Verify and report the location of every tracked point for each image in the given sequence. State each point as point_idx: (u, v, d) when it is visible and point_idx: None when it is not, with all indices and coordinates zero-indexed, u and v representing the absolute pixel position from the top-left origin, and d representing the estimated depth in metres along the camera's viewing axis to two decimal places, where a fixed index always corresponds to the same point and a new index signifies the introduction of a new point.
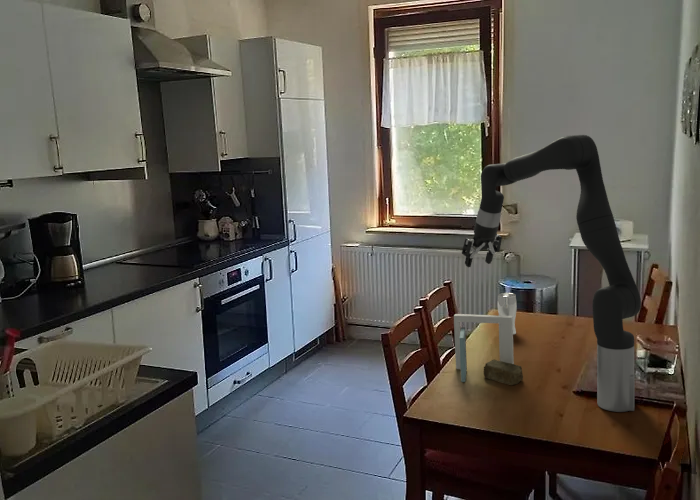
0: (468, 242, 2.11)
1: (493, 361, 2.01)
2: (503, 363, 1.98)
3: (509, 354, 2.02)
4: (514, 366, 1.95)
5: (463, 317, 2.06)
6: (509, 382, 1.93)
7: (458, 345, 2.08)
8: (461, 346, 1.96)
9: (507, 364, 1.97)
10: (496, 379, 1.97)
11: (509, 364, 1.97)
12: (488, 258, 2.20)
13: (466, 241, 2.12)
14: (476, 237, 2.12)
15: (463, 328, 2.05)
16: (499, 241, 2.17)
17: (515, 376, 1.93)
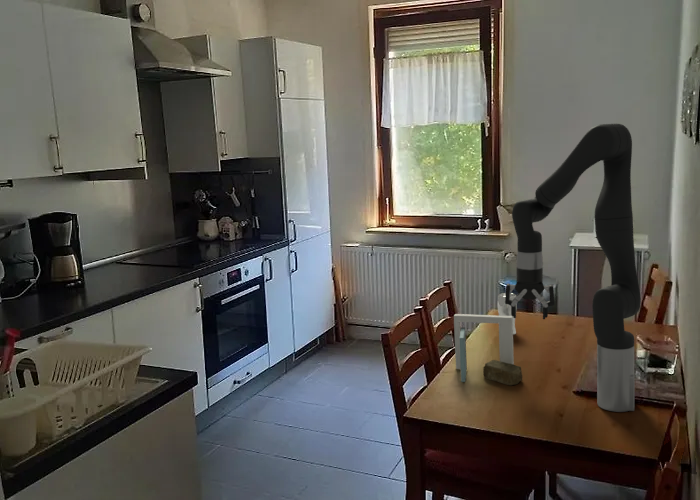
0: (506, 286, 1.94)
1: (493, 361, 2.01)
2: (503, 364, 1.98)
3: (509, 354, 2.02)
4: (513, 366, 1.95)
5: (463, 317, 2.06)
6: (508, 382, 1.93)
7: (458, 345, 2.08)
8: (461, 346, 1.96)
9: (507, 364, 1.97)
10: (495, 379, 1.97)
11: (509, 364, 1.97)
12: None
13: None
14: None
15: (463, 328, 2.05)
16: (550, 292, 1.90)
17: (514, 377, 1.93)
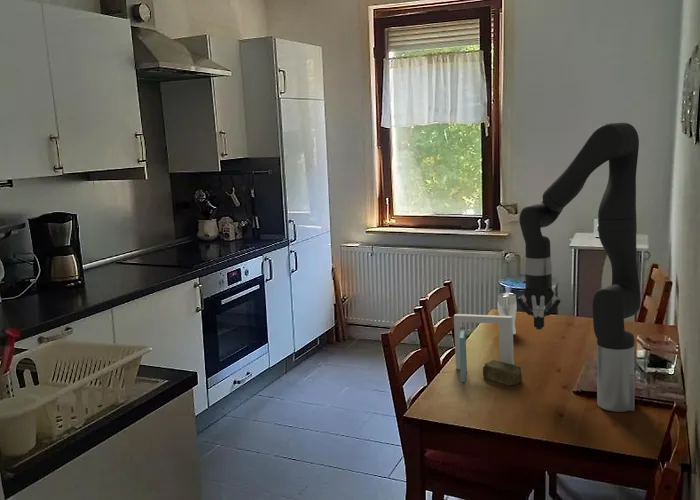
0: None
1: (493, 361, 2.01)
2: (503, 364, 1.98)
3: (509, 354, 2.02)
4: (513, 367, 1.95)
5: (463, 317, 2.06)
6: (507, 382, 1.93)
7: (458, 345, 2.08)
8: (461, 346, 1.96)
9: (506, 364, 1.97)
10: (495, 379, 1.97)
11: (508, 364, 1.97)
12: None
13: None
14: (525, 288, 1.90)
15: (463, 328, 2.05)
16: (555, 304, 1.87)
17: (514, 377, 1.93)
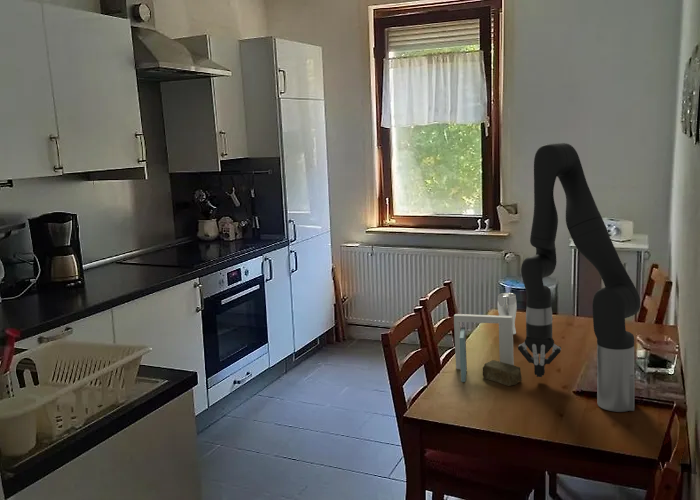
0: None
1: (492, 361, 2.01)
2: (502, 364, 1.98)
3: (509, 354, 2.02)
4: (513, 367, 1.95)
5: (463, 317, 2.06)
6: (507, 382, 1.93)
7: (458, 345, 2.08)
8: (461, 346, 1.96)
9: (506, 365, 1.97)
10: (494, 379, 1.97)
11: (508, 365, 1.97)
12: None
13: None
14: (526, 336, 1.93)
15: (463, 328, 2.05)
16: (555, 353, 1.90)
17: (513, 377, 1.92)
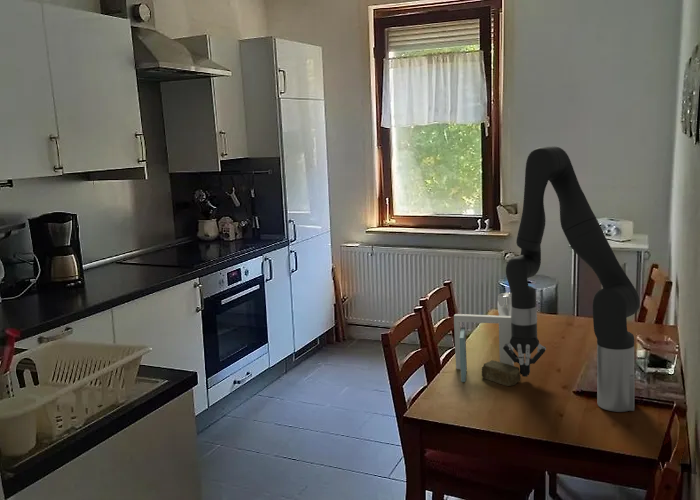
0: None
1: (492, 362, 2.01)
2: (501, 364, 1.98)
3: None
4: (512, 367, 1.95)
5: (463, 317, 2.06)
6: (505, 383, 1.93)
7: (458, 345, 2.08)
8: (461, 346, 1.96)
9: (505, 365, 1.97)
10: (493, 380, 1.96)
11: (507, 365, 1.97)
12: None
13: None
14: (511, 336, 1.95)
15: (463, 328, 2.05)
16: (540, 353, 1.92)
17: (512, 377, 1.92)
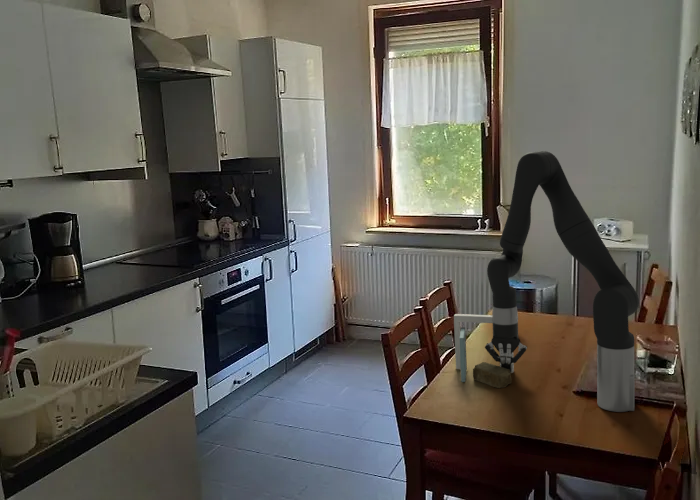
0: None
1: (483, 363, 2.00)
2: (492, 366, 1.97)
3: None
4: (502, 369, 1.94)
5: (463, 317, 2.06)
6: (496, 385, 1.92)
7: (458, 345, 2.08)
8: (461, 346, 1.96)
9: (496, 367, 1.96)
10: (484, 382, 1.95)
11: (498, 367, 1.96)
12: None
13: None
14: (493, 336, 1.97)
15: (463, 328, 2.05)
16: (521, 352, 1.94)
17: (502, 379, 1.91)
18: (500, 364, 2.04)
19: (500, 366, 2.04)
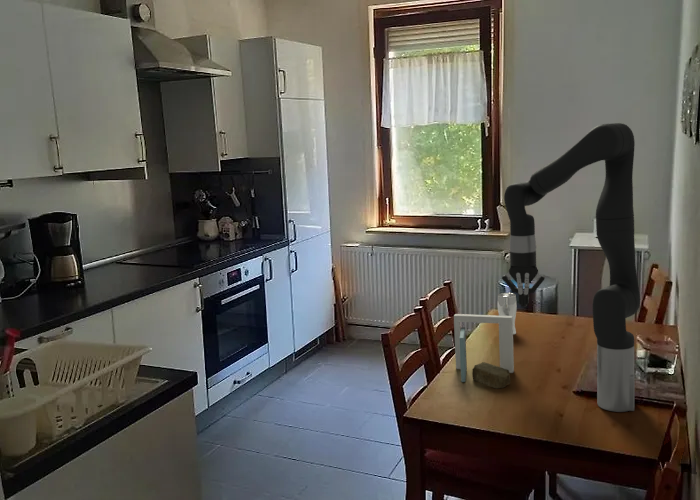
0: None
1: (482, 363, 2.00)
2: (492, 366, 1.96)
3: (509, 354, 2.02)
4: (501, 369, 1.93)
5: (463, 317, 2.06)
6: (494, 385, 1.91)
7: (458, 345, 2.08)
8: (461, 346, 1.96)
9: (495, 367, 1.95)
10: (483, 382, 1.95)
11: (497, 367, 1.95)
12: None
13: None
14: (510, 266, 1.93)
15: (463, 328, 2.05)
16: (539, 281, 1.90)
17: (501, 380, 1.91)
18: (500, 364, 2.04)
19: (500, 366, 2.04)
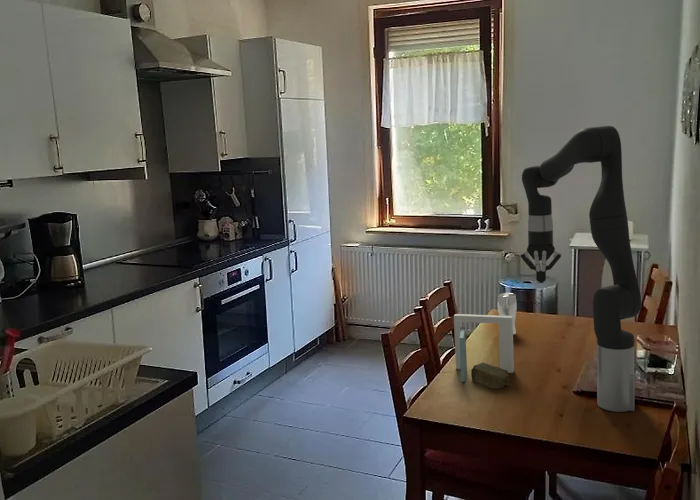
0: (521, 257, 2.06)
1: (482, 364, 1.99)
2: (491, 367, 1.96)
3: (509, 354, 2.02)
4: (500, 370, 1.93)
5: (463, 317, 2.06)
6: (493, 386, 1.91)
7: (458, 345, 2.08)
8: (461, 346, 1.96)
9: (494, 368, 1.95)
10: (482, 382, 1.95)
11: (496, 368, 1.95)
12: None
13: None
14: (528, 245, 2.05)
15: (463, 328, 2.05)
16: (555, 258, 2.01)
17: (499, 380, 1.91)
18: (500, 364, 2.04)
19: (500, 366, 2.04)
